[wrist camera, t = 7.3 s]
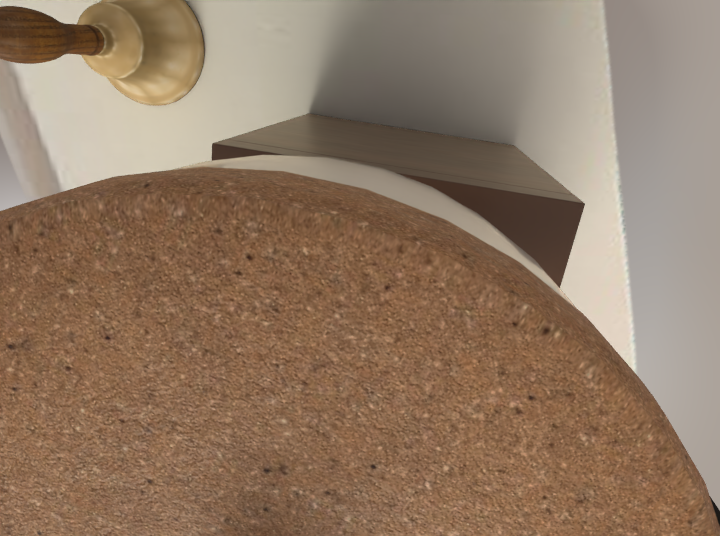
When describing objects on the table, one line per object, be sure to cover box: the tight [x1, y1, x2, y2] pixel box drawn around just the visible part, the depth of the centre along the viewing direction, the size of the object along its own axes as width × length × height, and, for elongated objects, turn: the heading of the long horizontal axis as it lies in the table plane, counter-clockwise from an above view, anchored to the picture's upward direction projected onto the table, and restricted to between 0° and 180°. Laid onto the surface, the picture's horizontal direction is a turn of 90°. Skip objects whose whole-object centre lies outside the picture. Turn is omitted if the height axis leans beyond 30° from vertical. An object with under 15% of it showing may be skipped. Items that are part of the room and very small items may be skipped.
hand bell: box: [0, 0, 204, 105], centre depth 30 cm, size 8×8×16 cm
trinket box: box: [0, 155, 720, 536], centre depth 9 cm, size 11×11×9 cm
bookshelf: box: [212, 114, 585, 288], centre depth 32 cm, size 16×15×18 cm
